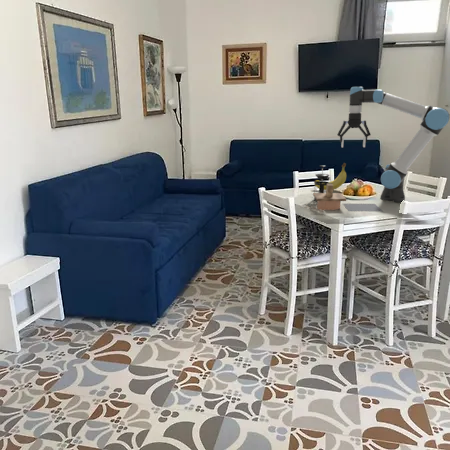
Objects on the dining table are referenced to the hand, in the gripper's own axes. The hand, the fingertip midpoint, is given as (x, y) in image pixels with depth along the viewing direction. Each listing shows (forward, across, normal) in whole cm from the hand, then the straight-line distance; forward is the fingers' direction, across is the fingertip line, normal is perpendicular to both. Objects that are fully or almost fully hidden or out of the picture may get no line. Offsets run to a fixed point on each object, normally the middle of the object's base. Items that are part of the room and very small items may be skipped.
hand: (353, 147), depth 283 cm
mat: (+35, -3, +23) cm, 41 cm away
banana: (+35, +8, -34) cm, 49 cm away
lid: (+28, +17, +22) cm, 40 cm away
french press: (+35, +18, -1) cm, 39 cm away
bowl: (+34, +17, +22) cm, 45 cm away
